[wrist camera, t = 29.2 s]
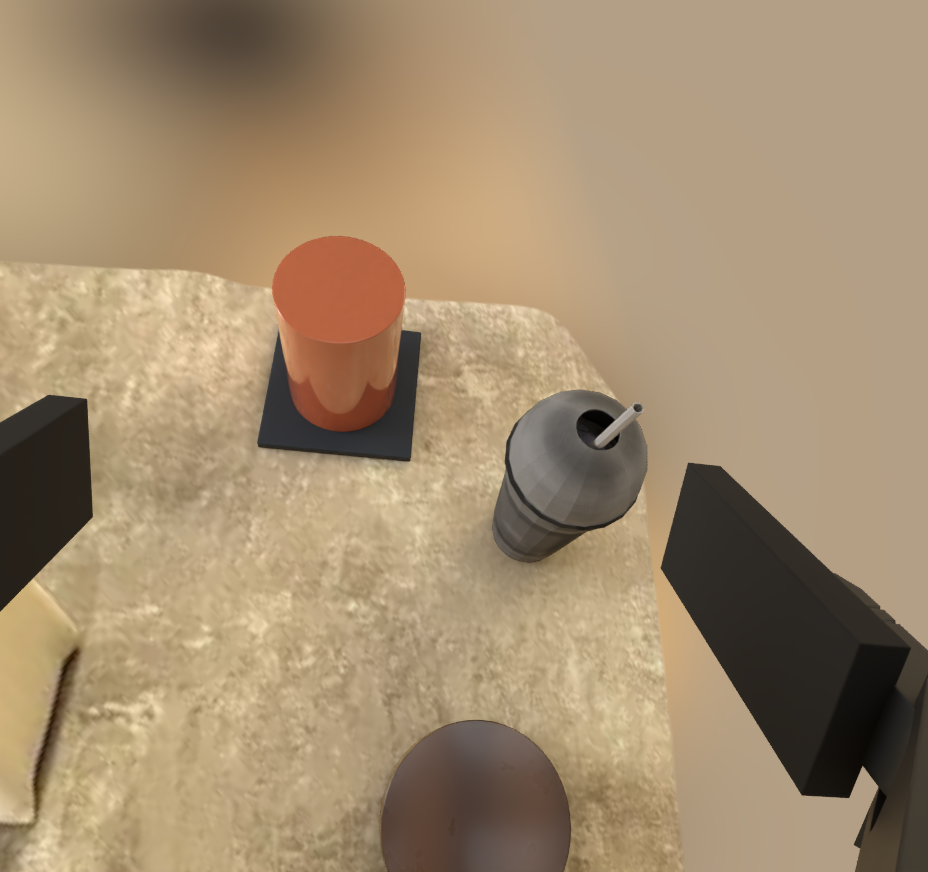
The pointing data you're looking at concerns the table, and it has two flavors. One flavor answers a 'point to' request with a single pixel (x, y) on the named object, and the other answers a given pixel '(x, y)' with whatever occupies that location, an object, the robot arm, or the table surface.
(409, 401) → the mat
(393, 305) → the terracotta cylinder
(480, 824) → the saucer
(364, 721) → the table surface
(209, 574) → the table surface
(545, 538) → the beverage cup
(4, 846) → the table surface
